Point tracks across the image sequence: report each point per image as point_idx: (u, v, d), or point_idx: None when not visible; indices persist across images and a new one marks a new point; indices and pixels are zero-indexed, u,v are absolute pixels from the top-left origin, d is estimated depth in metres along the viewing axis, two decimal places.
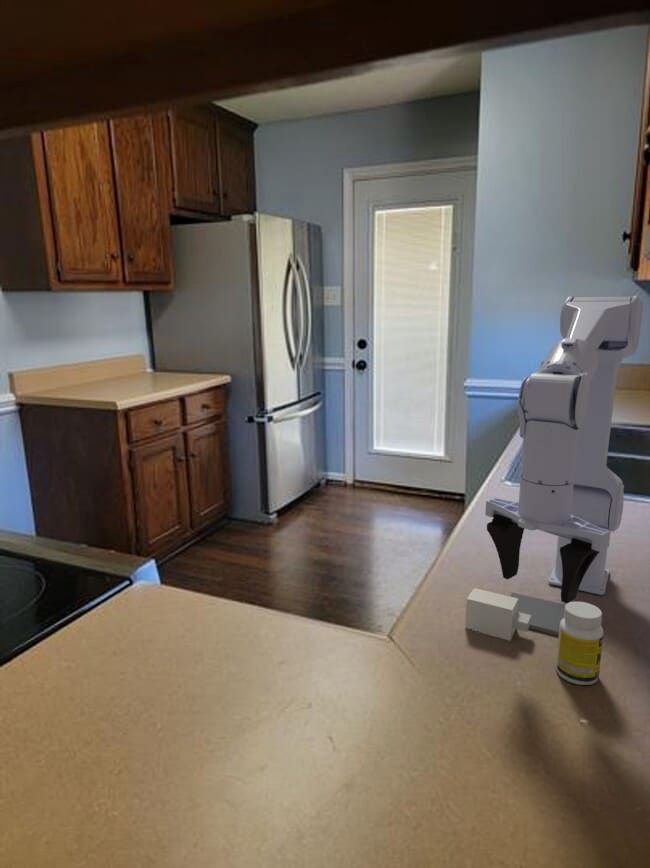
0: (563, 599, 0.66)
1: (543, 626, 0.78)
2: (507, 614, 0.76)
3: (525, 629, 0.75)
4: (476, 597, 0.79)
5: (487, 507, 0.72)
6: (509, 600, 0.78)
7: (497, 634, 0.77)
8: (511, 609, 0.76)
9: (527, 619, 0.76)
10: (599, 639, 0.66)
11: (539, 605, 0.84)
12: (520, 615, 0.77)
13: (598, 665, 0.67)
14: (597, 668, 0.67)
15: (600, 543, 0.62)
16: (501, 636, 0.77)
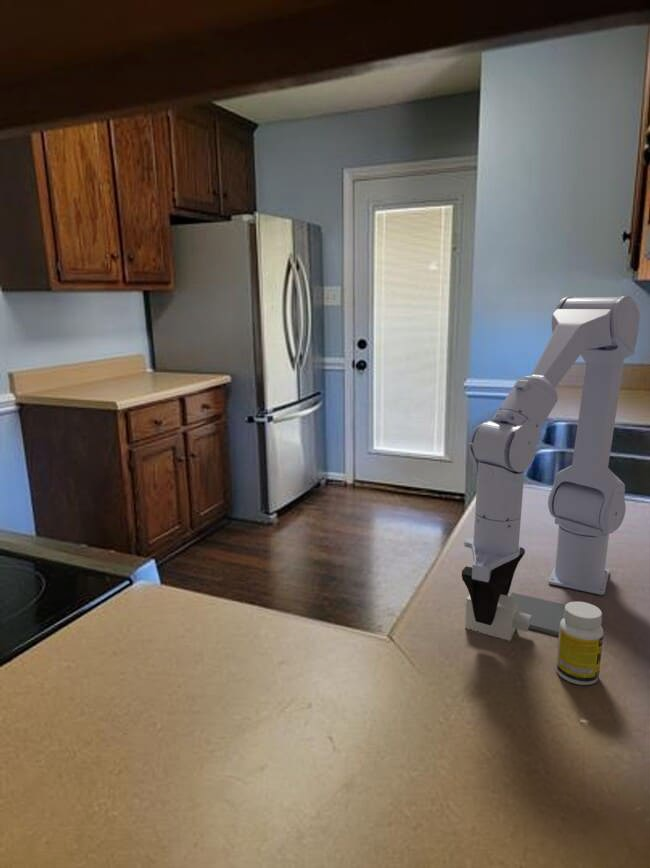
0: None
1: (543, 626, 0.78)
2: (507, 614, 0.76)
3: (525, 629, 0.75)
4: None
5: None
6: (509, 600, 0.78)
7: (497, 634, 0.77)
8: (511, 609, 0.76)
9: (527, 619, 0.76)
10: (599, 639, 0.66)
11: (539, 605, 0.84)
12: (520, 615, 0.77)
13: (598, 665, 0.67)
14: (597, 668, 0.67)
15: (472, 571, 0.71)
16: (501, 636, 0.77)
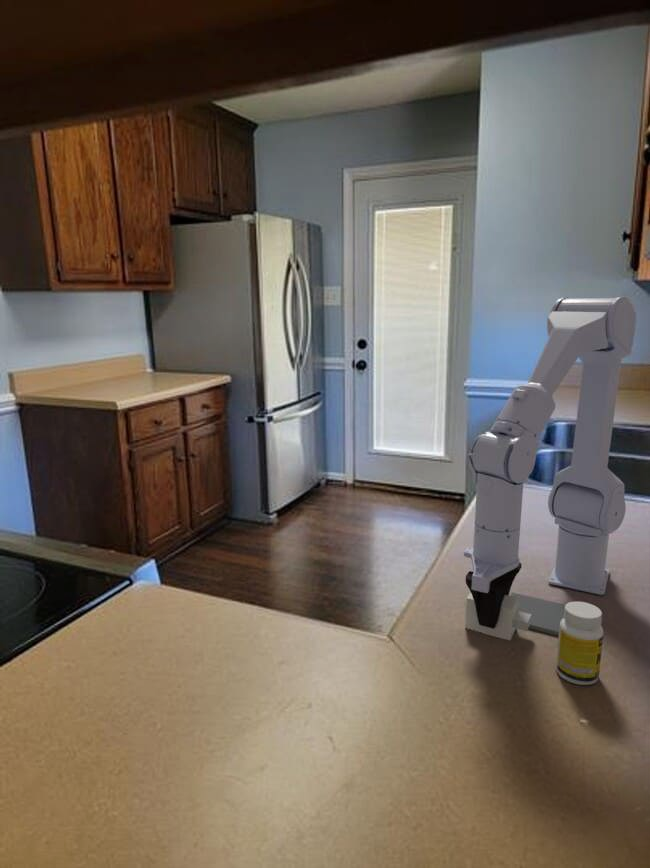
0: None
1: (543, 626, 0.78)
2: (507, 613, 0.76)
3: (525, 628, 0.75)
4: None
5: None
6: (509, 599, 0.78)
7: (497, 633, 0.77)
8: (511, 608, 0.76)
9: (527, 618, 0.76)
10: (599, 639, 0.66)
11: (539, 605, 0.84)
12: (520, 614, 0.77)
13: (598, 665, 0.67)
14: (597, 668, 0.67)
15: (471, 582, 0.72)
16: (501, 635, 0.77)
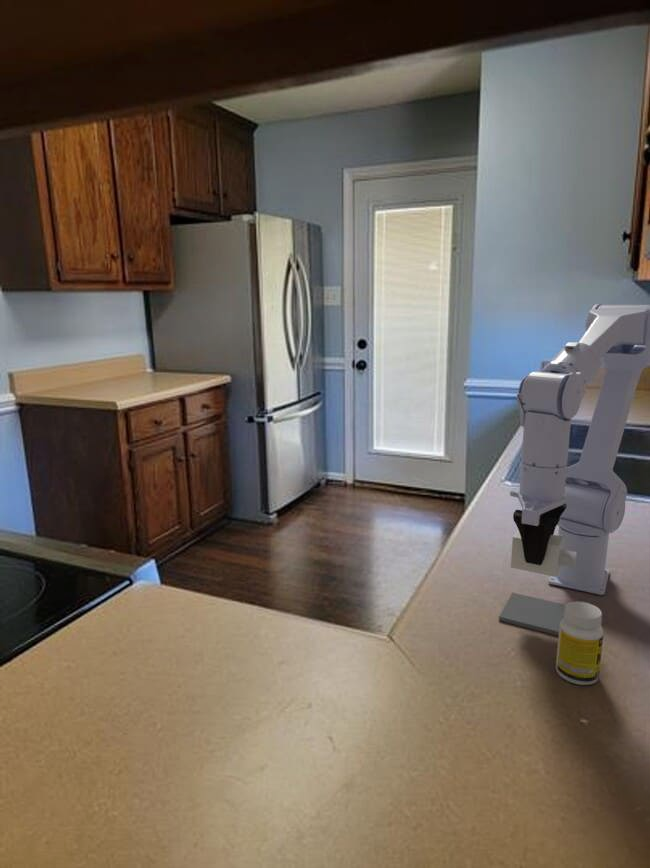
0: None
1: (543, 626, 0.78)
2: (554, 550, 0.77)
3: (572, 564, 0.77)
4: None
5: None
6: (555, 538, 0.79)
7: (543, 570, 0.79)
8: (558, 545, 0.77)
9: (574, 555, 0.78)
10: (599, 639, 0.66)
11: (539, 605, 0.84)
12: (566, 552, 0.79)
13: (598, 665, 0.67)
14: (597, 668, 0.67)
15: (521, 515, 0.73)
16: (547, 572, 0.78)
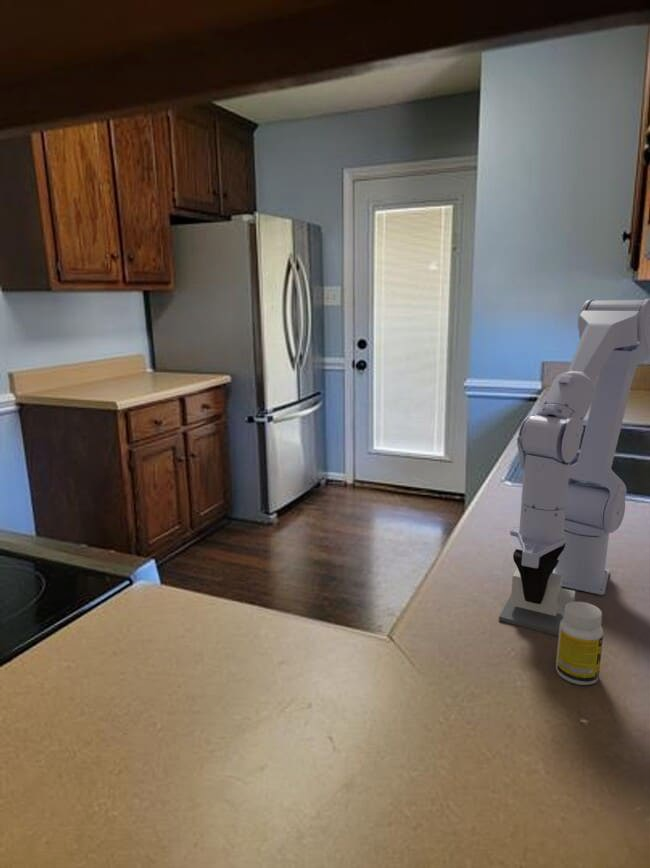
0: (525, 596, 0.81)
1: (543, 626, 0.78)
2: (553, 590, 0.79)
3: None
4: None
5: None
6: (554, 576, 0.81)
7: (543, 609, 0.80)
8: (557, 585, 0.78)
9: (572, 594, 0.79)
10: (599, 639, 0.66)
11: None
12: (565, 591, 0.80)
13: (598, 665, 0.67)
14: (597, 668, 0.67)
15: (521, 558, 0.74)
16: (547, 611, 0.80)
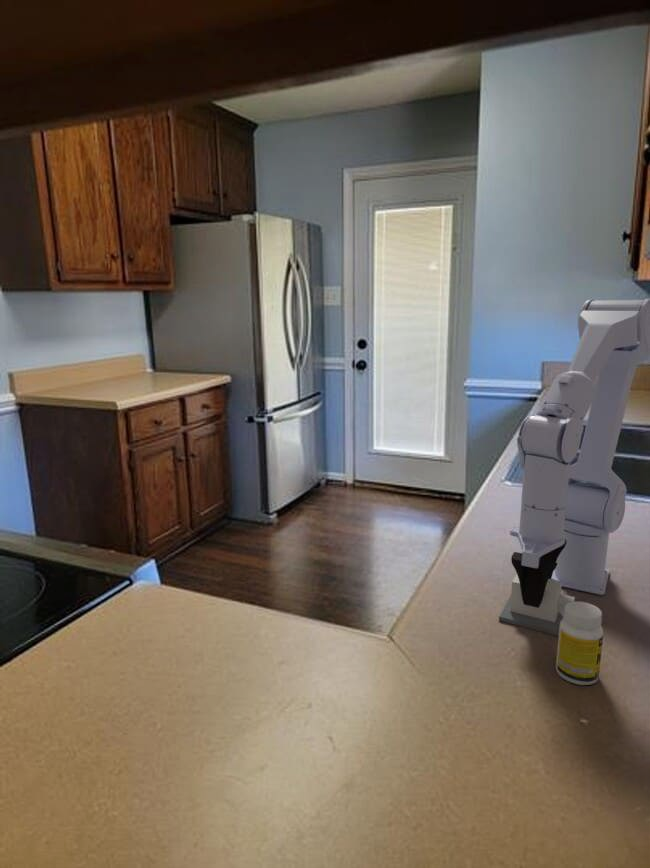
0: (523, 600, 0.80)
1: (543, 626, 0.78)
2: (552, 596, 0.79)
3: None
4: None
5: None
6: (553, 583, 0.81)
7: (542, 615, 0.80)
8: (556, 591, 0.79)
9: (572, 600, 0.79)
10: (599, 639, 0.66)
11: None
12: (564, 597, 0.80)
13: (598, 665, 0.67)
14: (597, 668, 0.67)
15: (521, 558, 0.74)
16: (546, 617, 0.80)
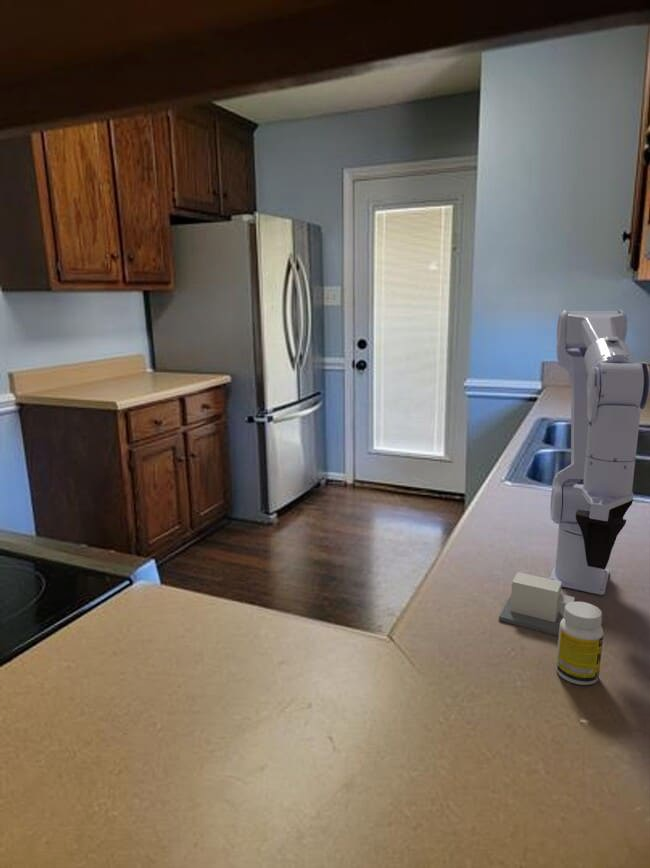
0: (587, 561, 0.75)
1: (543, 626, 0.78)
2: (552, 596, 0.79)
3: None
4: (521, 580, 0.82)
5: None
6: (553, 583, 0.81)
7: (542, 615, 0.80)
8: (556, 591, 0.79)
9: (572, 600, 0.79)
10: (599, 639, 0.66)
11: None
12: (564, 597, 0.80)
13: (598, 665, 0.67)
14: (597, 668, 0.67)
15: (590, 510, 0.70)
16: (546, 617, 0.80)
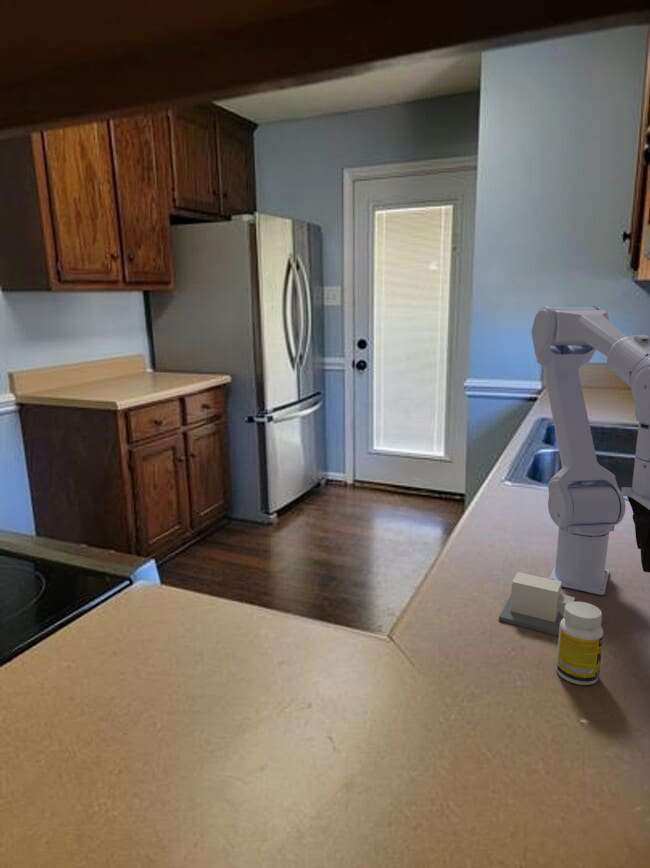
0: (642, 567, 0.73)
1: (543, 626, 0.78)
2: (552, 596, 0.79)
3: None
4: (521, 580, 0.82)
5: None
6: (553, 583, 0.81)
7: (542, 615, 0.80)
8: (556, 591, 0.79)
9: (572, 600, 0.79)
10: (599, 639, 0.66)
11: None
12: (564, 597, 0.80)
13: (598, 665, 0.67)
14: (597, 668, 0.67)
15: None
16: (546, 617, 0.80)
